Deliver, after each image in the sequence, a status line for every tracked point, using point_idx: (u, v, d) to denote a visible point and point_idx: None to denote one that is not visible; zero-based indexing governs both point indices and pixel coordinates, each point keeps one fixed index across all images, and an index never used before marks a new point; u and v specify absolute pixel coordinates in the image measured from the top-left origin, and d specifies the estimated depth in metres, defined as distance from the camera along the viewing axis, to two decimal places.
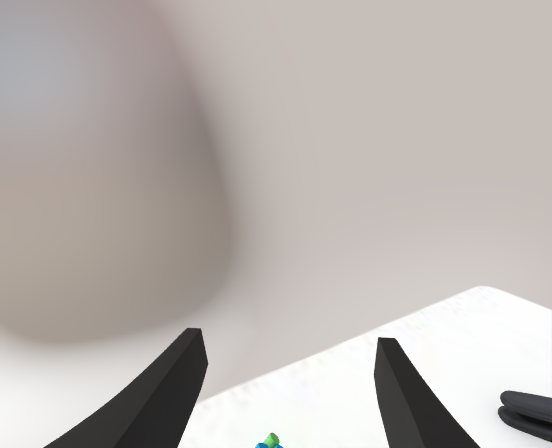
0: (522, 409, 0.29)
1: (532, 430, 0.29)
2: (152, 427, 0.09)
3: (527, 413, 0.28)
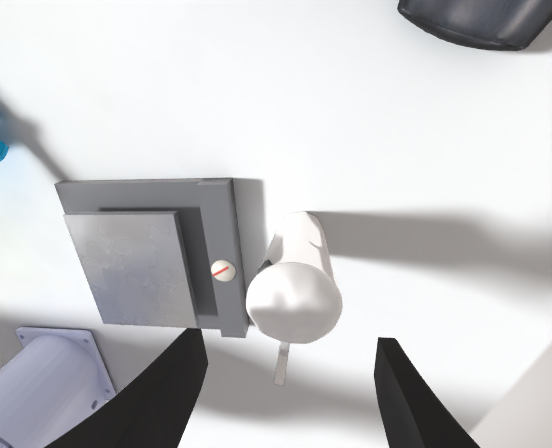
0: None
1: None
2: (152, 427, 0.09)
3: None
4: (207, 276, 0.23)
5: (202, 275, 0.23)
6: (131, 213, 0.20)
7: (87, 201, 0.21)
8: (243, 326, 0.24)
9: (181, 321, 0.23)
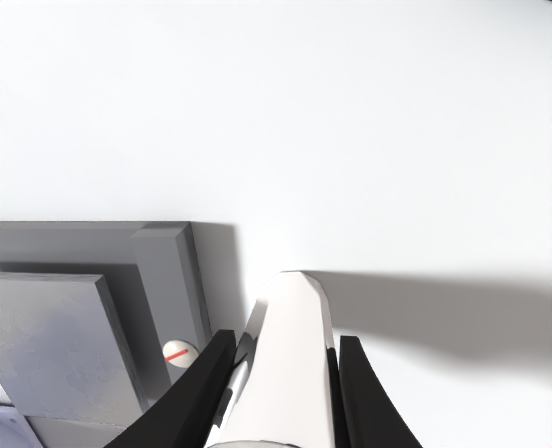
0: None
1: None
2: (196, 431, 0.09)
3: None
4: (162, 354, 0.16)
5: (154, 353, 0.16)
6: (34, 278, 0.13)
7: None
8: None
9: (124, 418, 0.16)
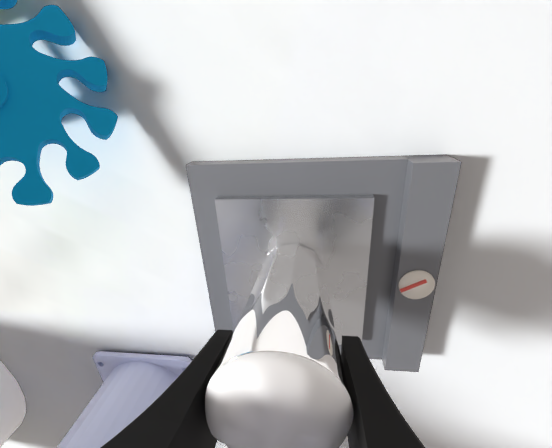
0: None
1: None
2: (194, 431, 0.09)
3: None
4: (378, 291, 0.17)
5: (371, 290, 0.17)
6: (310, 197, 0.15)
7: (229, 189, 0.15)
8: (419, 357, 0.18)
9: None
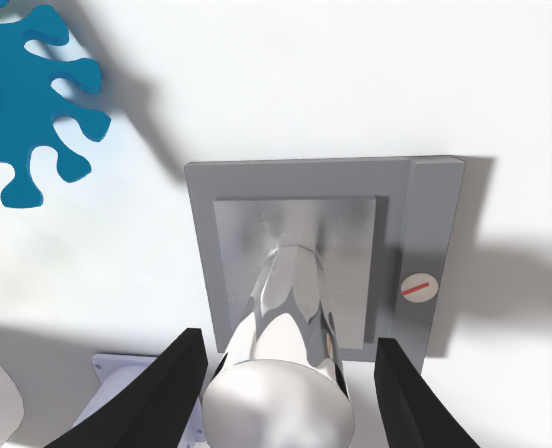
0: None
1: None
2: (152, 427, 0.09)
3: None
4: (380, 294, 0.17)
5: (372, 292, 0.17)
6: (311, 198, 0.14)
7: (228, 190, 0.15)
8: (422, 361, 0.17)
9: (343, 340, 0.18)
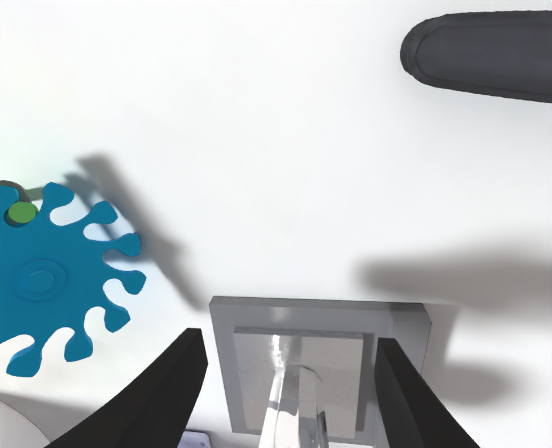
0: (450, 84, 0.10)
1: None
2: (152, 427, 0.09)
3: (458, 89, 0.10)
4: (368, 397, 0.20)
5: (362, 396, 0.20)
6: (311, 334, 0.18)
7: (244, 322, 0.19)
8: None
9: (338, 432, 0.21)
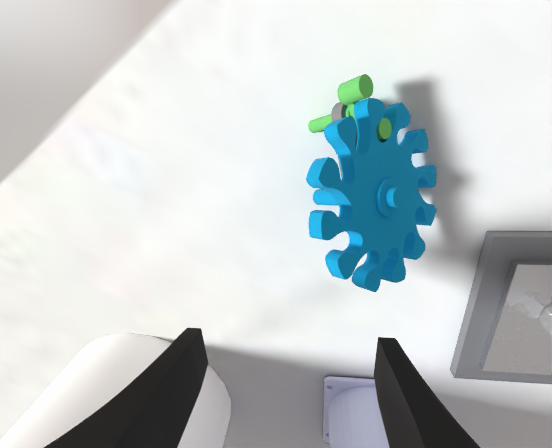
0: None
1: None
2: (152, 427, 0.09)
3: None
4: None
5: None
6: None
7: (525, 255, 0.19)
8: None
9: None
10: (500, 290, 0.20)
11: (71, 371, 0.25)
